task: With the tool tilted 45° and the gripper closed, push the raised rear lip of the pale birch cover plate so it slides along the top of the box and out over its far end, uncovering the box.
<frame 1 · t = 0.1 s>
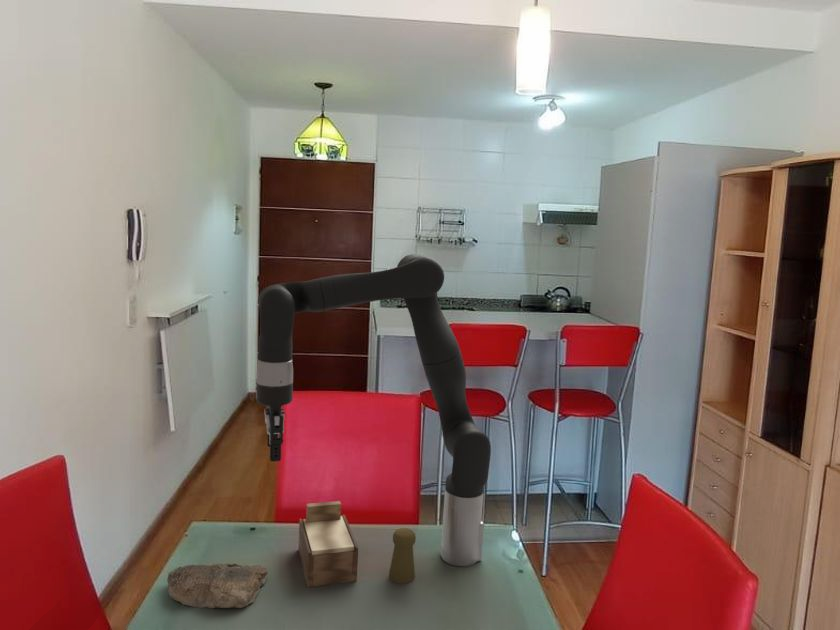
hand: (273, 453, 138), 29 cm above the table, tool pointing down, fingers open, 8 cm apart
lid box: (326, 564, 150), on the table
clay tablet: (213, 592, 137), on the table
tan pawn: (401, 576, 147), on the table
cover plate: (327, 526, 148), point 10 cm above the table, slide at 0.0 cm
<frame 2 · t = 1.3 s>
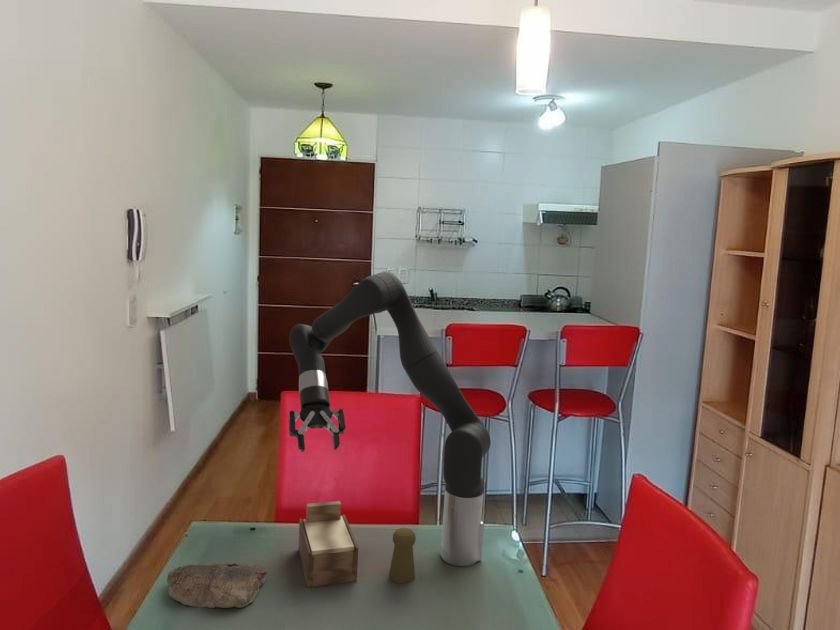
hand: (319, 449, 159), 23 cm above the table, tool tilted 45°, fingers open, 7 cm apart
nothing on the table moved.
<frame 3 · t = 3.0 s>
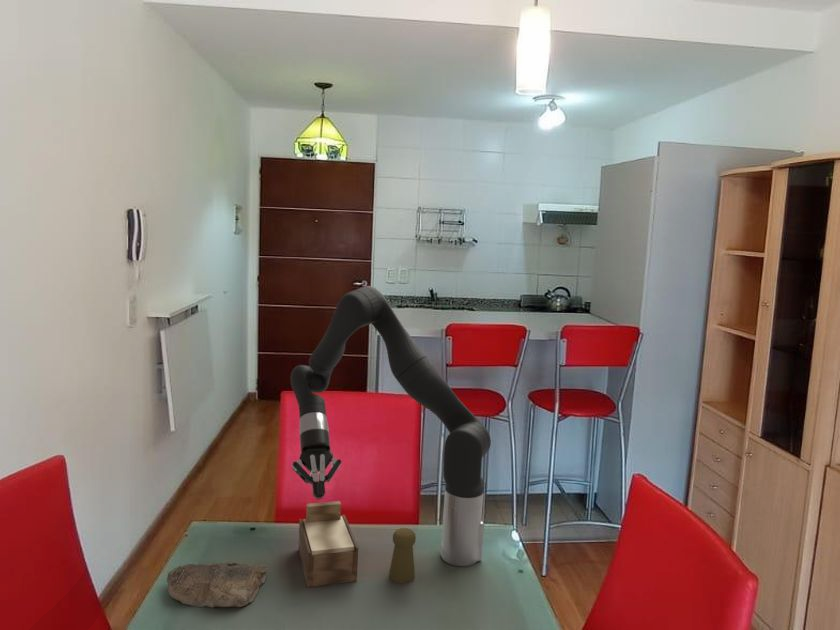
hand: (319, 497, 159), 11 cm above the table, tool tilted 45°, fingers closed
nothing on the table moved.
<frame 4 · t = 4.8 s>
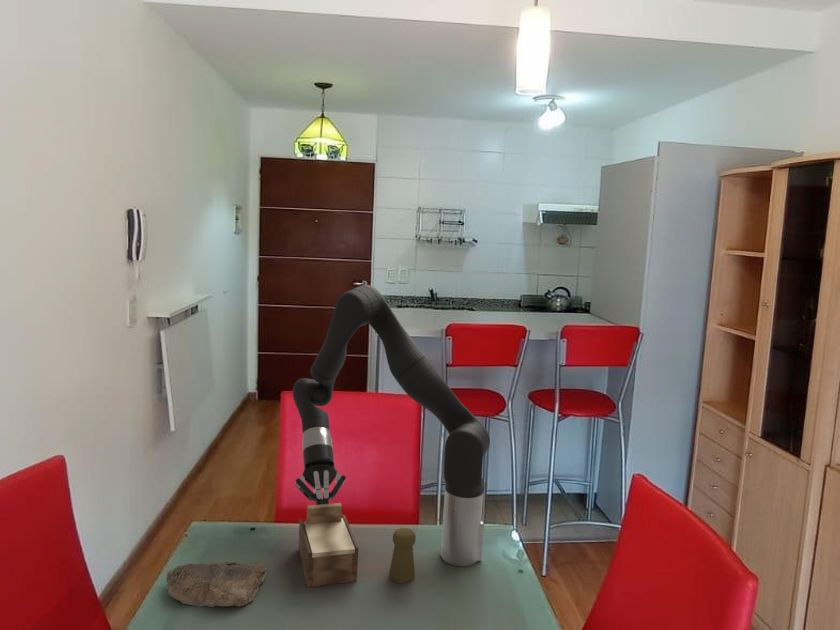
hand: (323, 515, 155), 9 cm above the table, tool tilted 45°, fingers closed
cover plate: (328, 528, 147), point 10 cm above the table, slide at 1.0 cm, touching gripper
everything else where it was.
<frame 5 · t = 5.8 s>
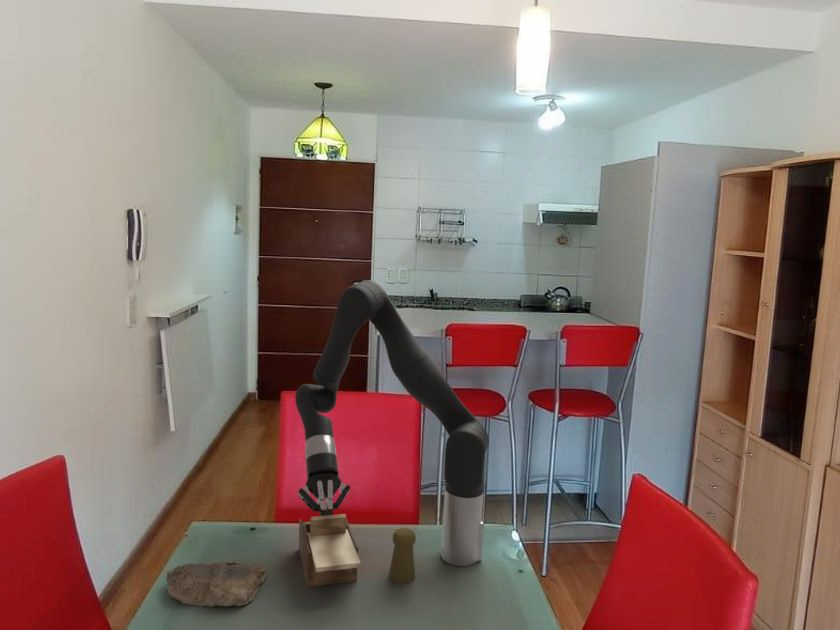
hand: (327, 527, 149), 9 cm above the table, tool tilted 45°, fingers closed
cover plate: (333, 541, 142), point 10 cm above the table, slide at 6.8 cm, touching gripper
everything else where it was.
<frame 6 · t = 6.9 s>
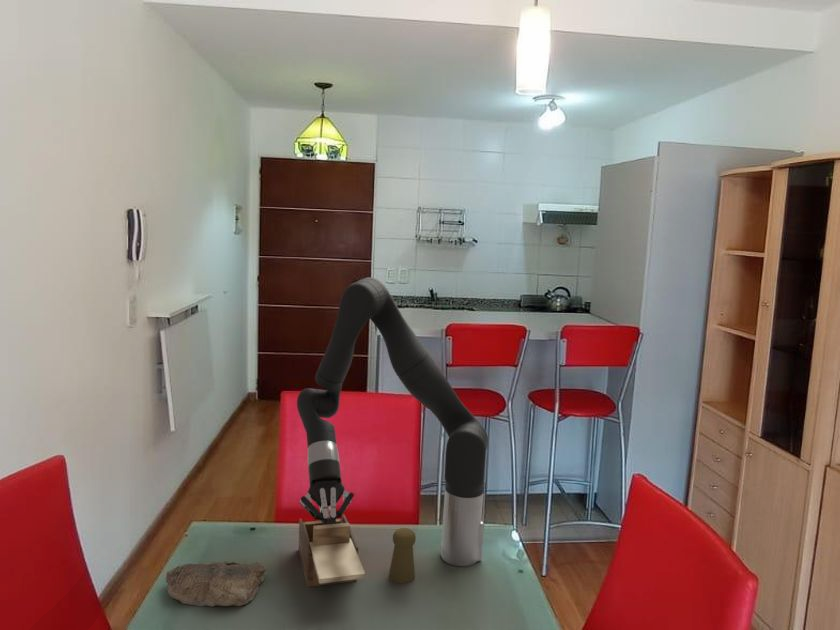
hand: (330, 536, 145), 9 cm above the table, tool tilted 45°, fingers closed
cover plate: (336, 550, 138), point 10 cm above the table, slide at 11.1 cm, touching gripper
everything else where it was.
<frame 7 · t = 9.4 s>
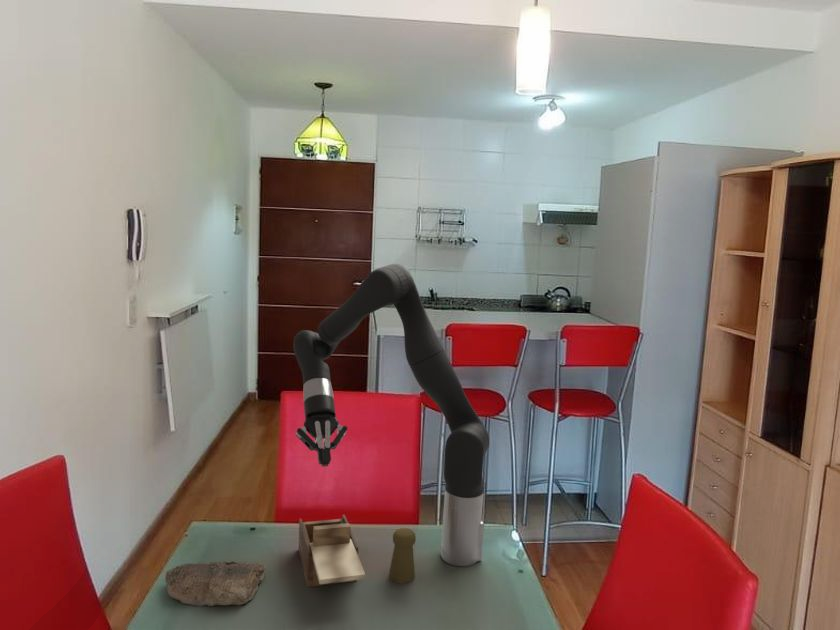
hand: (325, 465, 153), 22 cm above the table, tool tilted 45°, fingers closed
cover plate: (336, 551, 137), point 10 cm above the table, slide at 11.3 cm
everything else where it was.
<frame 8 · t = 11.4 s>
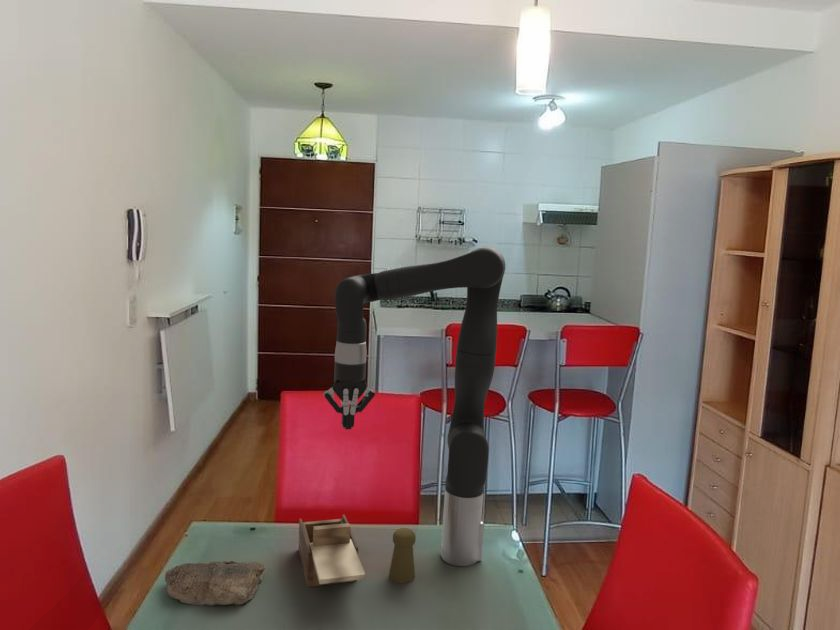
hand: (347, 428, 157), 29 cm above the table, tool pointing down, fingers closed
at the end: cover plate slide at 11.3 cm; the gripper is holding nothing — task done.
